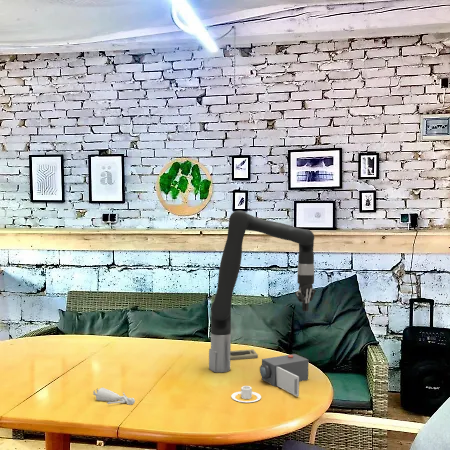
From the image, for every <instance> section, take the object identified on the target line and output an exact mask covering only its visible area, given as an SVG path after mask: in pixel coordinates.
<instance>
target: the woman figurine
mask: <svg viewBox="0 0 450 450" xmlns="http://www.w3.org/2000/svg"><path fill="white" fill-rule="evenodd" d="M92 394H93V395H94V396H95V398H96V401H99V402H100V401H101V402H107V403H106V405H107V404H108V405H110V404H125V403H126V404H127V405H129V406H131V405H134V404H135V402H136V400H135V398H134V397H128V396H127V395H126V394H125V392H122V395H119V393H116V392H114V391H112V390H110V389H107V388H105V387H100V388H99V389H98V388H97V389H96V391H95V390H93V391H92Z"/></svg>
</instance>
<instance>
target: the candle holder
mask: <svg viewBox="0 0 450 450" xmlns="http://www.w3.org/2000/svg"><path fill="white" fill-rule="evenodd" d="M252 388H253V387H251V386H250V385H243V386H241V389H240V391H235V392H234V393H232V394H231V399H232V400H234V401H236V402H239V403H255V402H258V401H259V400H261V399H262V396H261V394H260V393H258V392H255V391H253V389H252ZM238 394H239V395H240V397H241V399H244V400H241V399H240V400H239V399H237V398H236V397H237V396H239V395H238ZM253 396H256V399H255V400H250V399H252V397H253ZM246 400H248V401H246Z"/></svg>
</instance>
